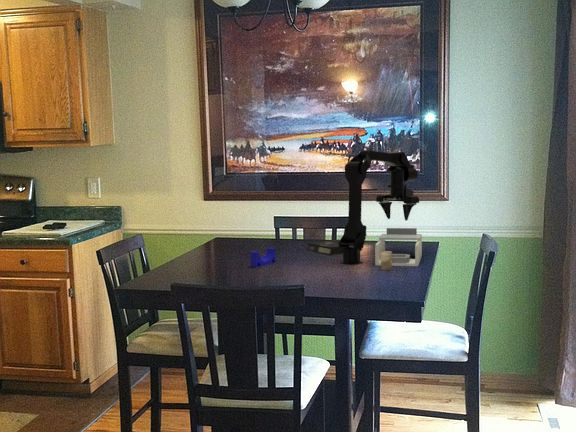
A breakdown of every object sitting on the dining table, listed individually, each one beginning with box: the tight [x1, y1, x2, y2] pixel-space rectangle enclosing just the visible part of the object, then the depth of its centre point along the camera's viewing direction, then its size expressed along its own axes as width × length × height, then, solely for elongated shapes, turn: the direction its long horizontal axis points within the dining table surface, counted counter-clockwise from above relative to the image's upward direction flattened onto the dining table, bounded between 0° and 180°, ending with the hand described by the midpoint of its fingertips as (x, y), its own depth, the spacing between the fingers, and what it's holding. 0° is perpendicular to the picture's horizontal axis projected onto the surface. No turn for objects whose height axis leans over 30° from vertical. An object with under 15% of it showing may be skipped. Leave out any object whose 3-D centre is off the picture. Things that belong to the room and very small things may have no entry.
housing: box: [374, 236, 423, 267], centre depth 279 cm, size 24×16×8 cm, turn 166°
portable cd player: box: [307, 239, 363, 256], centre depth 306 cm, size 16×17×4 cm
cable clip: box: [249, 247, 277, 269], centre depth 279 cm, size 12×4×6 cm, turn 143°
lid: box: [378, 227, 423, 241], centre depth 284 cm, size 11×16×3 cm
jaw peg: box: [380, 250, 393, 271], centre depth 262 cm, size 4×4×6 cm
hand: (397, 219), depth 295 cm, fingers open, 9 cm apart
